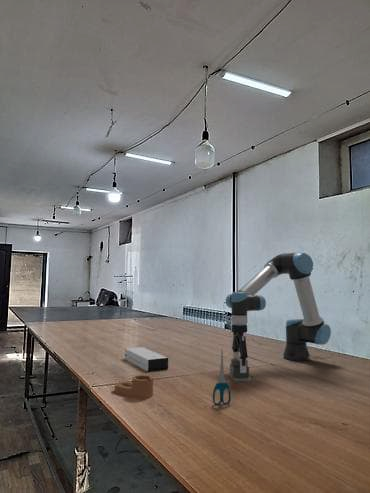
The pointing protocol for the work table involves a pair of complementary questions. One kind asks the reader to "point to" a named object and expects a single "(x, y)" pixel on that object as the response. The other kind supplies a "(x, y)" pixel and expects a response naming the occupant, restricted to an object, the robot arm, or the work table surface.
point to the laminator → (146, 359)
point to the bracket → (136, 387)
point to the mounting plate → (239, 378)
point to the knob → (238, 368)
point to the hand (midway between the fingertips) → (239, 369)
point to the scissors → (221, 385)
